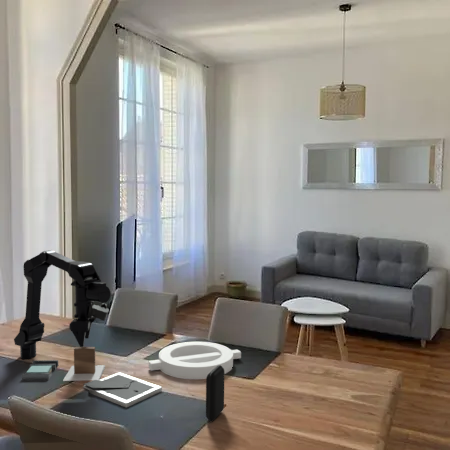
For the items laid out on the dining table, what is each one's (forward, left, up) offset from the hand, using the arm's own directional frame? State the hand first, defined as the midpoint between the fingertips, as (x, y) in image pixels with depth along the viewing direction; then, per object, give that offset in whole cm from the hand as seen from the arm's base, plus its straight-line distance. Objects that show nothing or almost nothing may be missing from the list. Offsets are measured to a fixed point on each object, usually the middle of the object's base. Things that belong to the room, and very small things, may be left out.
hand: (84, 342), depth 182 cm
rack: (-1, -16, -12) cm, 20 cm away
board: (0, 0, -12) cm, 12 cm away
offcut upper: (+1, -16, -10) cm, 19 cm away
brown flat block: (0, 0, -11) cm, 11 cm away
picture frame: (+14, +15, -13) cm, 24 cm away
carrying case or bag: (+33, +45, -12) cm, 57 cm away
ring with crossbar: (-9, +40, -13) cm, 43 cm away
